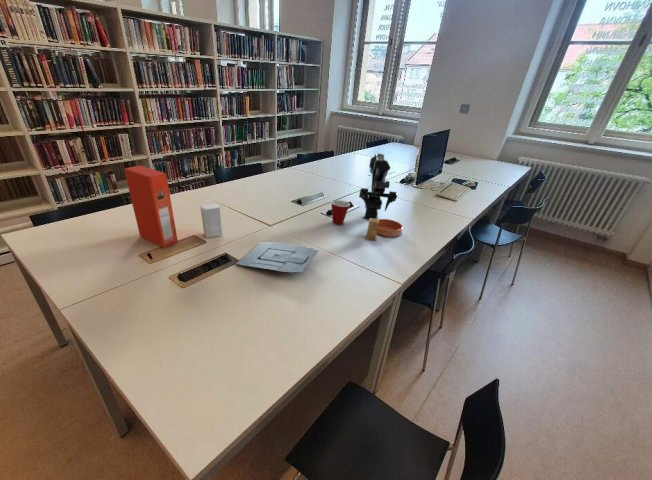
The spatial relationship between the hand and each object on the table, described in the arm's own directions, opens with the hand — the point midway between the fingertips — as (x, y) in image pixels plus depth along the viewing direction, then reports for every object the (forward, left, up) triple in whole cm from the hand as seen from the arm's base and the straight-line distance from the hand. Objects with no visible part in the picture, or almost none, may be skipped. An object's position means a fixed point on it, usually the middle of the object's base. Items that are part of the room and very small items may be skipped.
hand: (376, 209), depth 163 cm
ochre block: (+1, -5, -14) cm, 15 cm away
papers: (-29, -50, -14) cm, 59 cm away
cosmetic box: (-69, -45, -14) cm, 83 cm away
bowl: (+6, +8, -14) cm, 17 cm away
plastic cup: (-21, +4, -14) cm, 25 cm away
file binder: (-86, -62, -14) cm, 107 cm away
